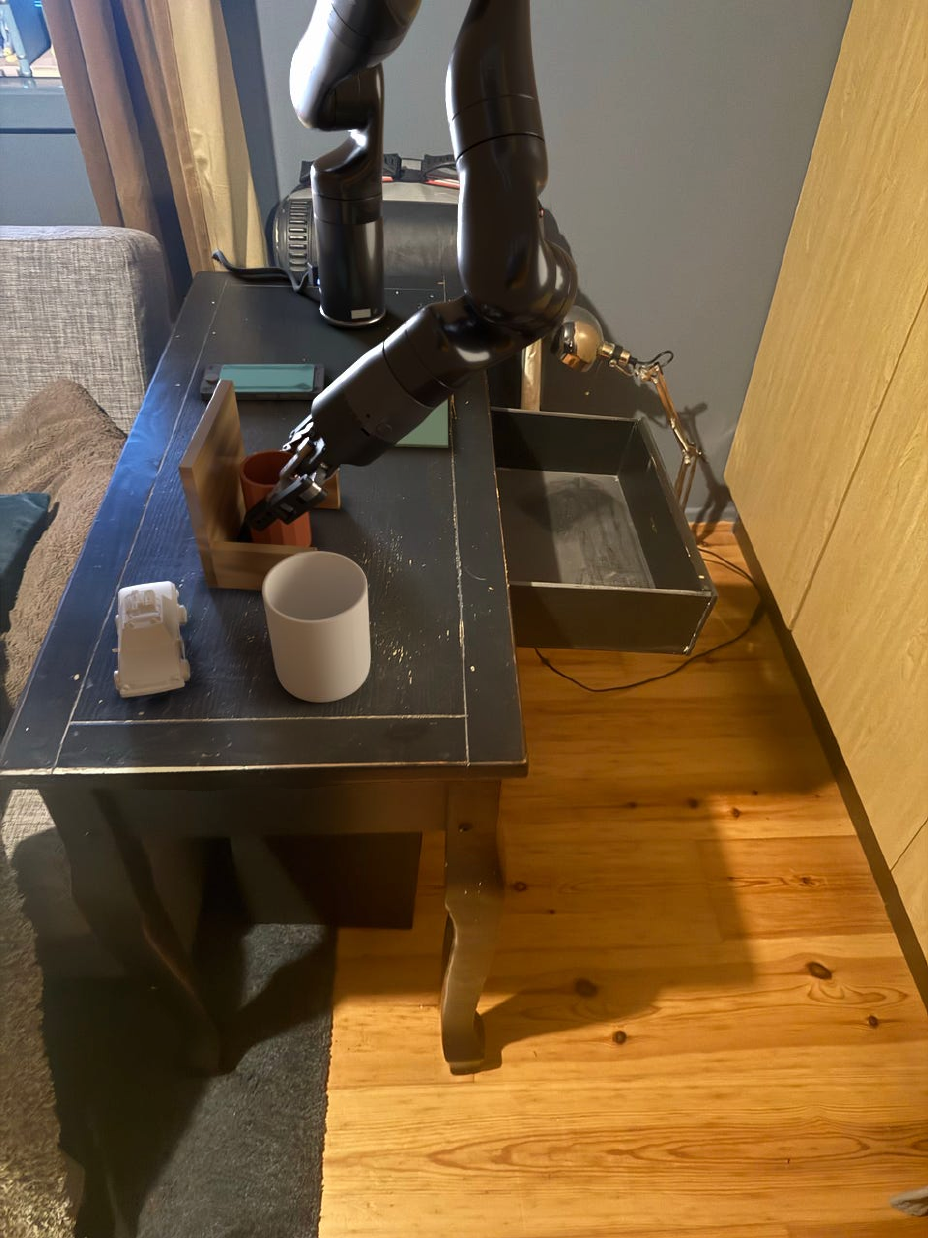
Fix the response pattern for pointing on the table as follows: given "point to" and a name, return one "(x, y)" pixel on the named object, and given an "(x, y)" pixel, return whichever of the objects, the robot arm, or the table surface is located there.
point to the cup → (257, 482)
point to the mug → (318, 625)
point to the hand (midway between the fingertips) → (259, 501)
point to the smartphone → (266, 381)
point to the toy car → (150, 640)
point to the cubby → (228, 499)
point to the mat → (430, 430)
